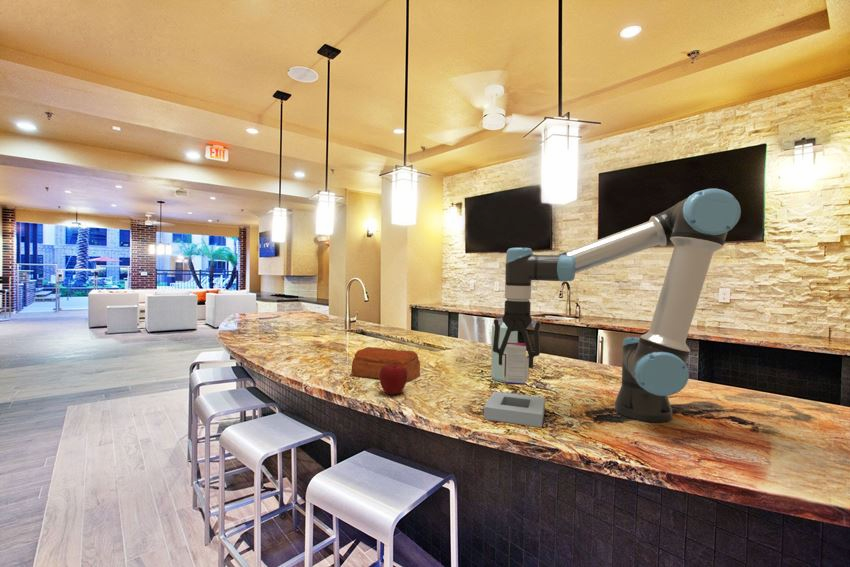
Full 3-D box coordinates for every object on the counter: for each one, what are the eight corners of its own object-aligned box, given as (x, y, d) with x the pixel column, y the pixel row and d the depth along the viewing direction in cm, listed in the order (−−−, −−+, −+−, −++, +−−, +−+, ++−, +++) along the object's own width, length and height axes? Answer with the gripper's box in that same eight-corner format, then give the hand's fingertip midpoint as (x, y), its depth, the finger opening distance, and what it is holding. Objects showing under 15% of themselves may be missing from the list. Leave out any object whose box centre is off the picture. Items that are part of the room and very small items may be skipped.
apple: (400, 399, 127) (401, 368, 127) (374, 395, 131) (374, 366, 130) (410, 391, 136) (411, 362, 136) (386, 388, 139) (386, 360, 139)
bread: (407, 384, 145) (407, 356, 145) (347, 376, 156) (347, 350, 155) (423, 374, 160) (423, 349, 159) (367, 368, 170) (367, 344, 170)
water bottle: (522, 380, 152) (523, 317, 151) (504, 384, 146) (505, 318, 146) (503, 375, 160) (504, 315, 160) (485, 378, 154) (486, 316, 154)
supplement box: (526, 385, 112) (526, 346, 111) (505, 384, 113) (505, 345, 113) (525, 380, 117) (525, 342, 117) (505, 379, 119) (505, 341, 118)
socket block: (544, 408, 120) (545, 397, 120) (541, 427, 105) (542, 414, 105) (493, 402, 126) (493, 391, 125) (483, 419, 111) (483, 406, 110)
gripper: (552, 300, 115) (549, 377, 115) (487, 298, 121) (485, 370, 122) (551, 302, 108) (548, 384, 108) (483, 299, 114) (481, 376, 115)
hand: (515, 377), depth 115 cm, fingers closed on supplement box, 6 cm apart
